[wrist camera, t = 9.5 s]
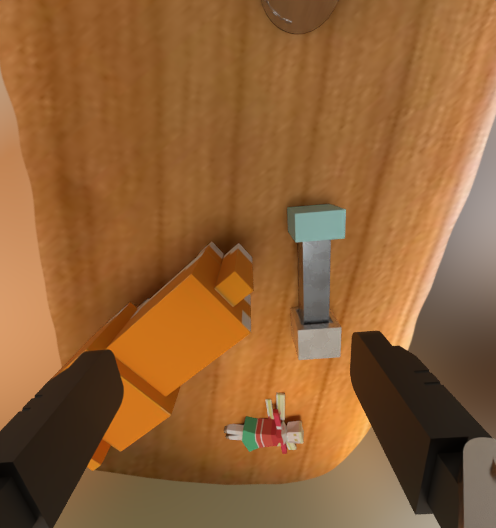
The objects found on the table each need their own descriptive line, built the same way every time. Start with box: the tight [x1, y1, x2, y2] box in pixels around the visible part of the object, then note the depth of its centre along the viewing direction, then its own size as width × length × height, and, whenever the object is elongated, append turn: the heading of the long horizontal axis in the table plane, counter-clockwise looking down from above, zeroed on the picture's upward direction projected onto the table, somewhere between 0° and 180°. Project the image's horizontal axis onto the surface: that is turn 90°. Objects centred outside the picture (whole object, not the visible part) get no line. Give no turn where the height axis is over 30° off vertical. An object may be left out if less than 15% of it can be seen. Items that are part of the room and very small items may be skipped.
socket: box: [287, 204, 346, 242], centre depth 34 cm, size 4×6×6 cm, turn 95°
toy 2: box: [224, 393, 304, 454], centre depth 49 cm, size 15×4×15 cm
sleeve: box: [291, 307, 341, 360], centre depth 40 cm, size 5×6×6 cm
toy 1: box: [50, 242, 254, 471], centre depth 32 cm, size 10×30×20 cm, turn 131°
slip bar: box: [298, 240, 331, 325], centre depth 37 cm, size 16×4×4 cm, turn 5°
